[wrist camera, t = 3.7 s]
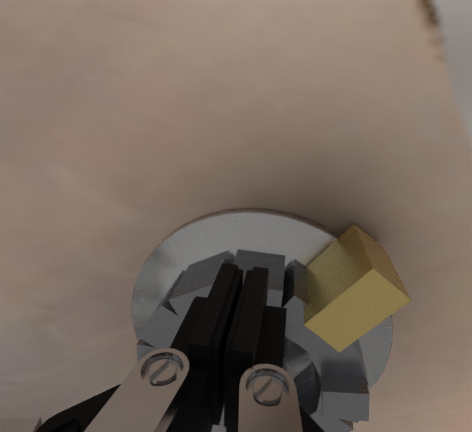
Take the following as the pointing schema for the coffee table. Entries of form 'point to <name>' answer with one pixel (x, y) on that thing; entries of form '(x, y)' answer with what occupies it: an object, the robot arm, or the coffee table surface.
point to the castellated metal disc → (307, 317)
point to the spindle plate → (233, 238)
